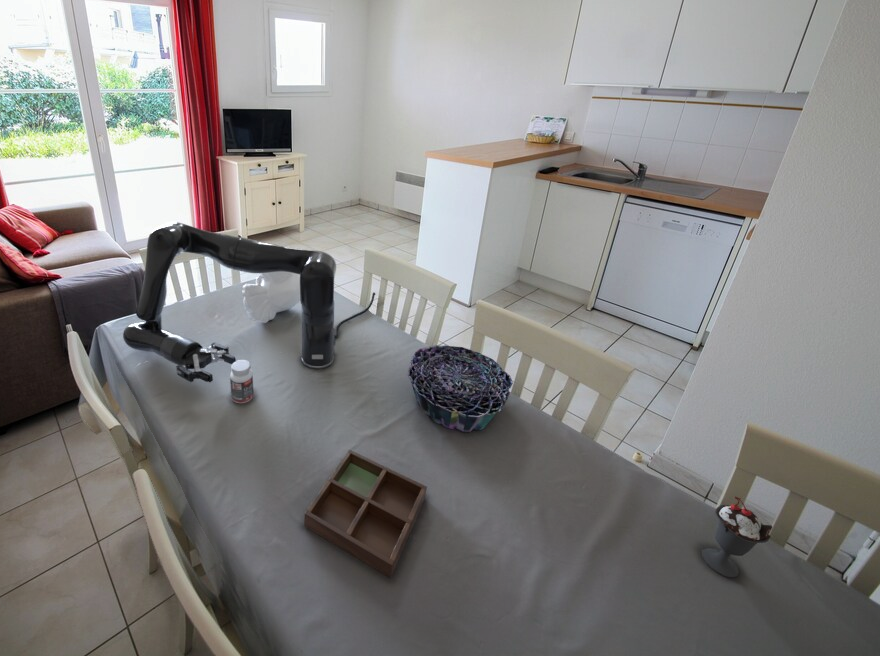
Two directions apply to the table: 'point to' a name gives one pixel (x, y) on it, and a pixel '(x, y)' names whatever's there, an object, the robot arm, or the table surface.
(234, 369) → the pill bottle
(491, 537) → the table surface
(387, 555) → the grid
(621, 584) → the table surface
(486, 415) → the decorative bowl
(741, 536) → the sundae
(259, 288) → the decorative rooster
